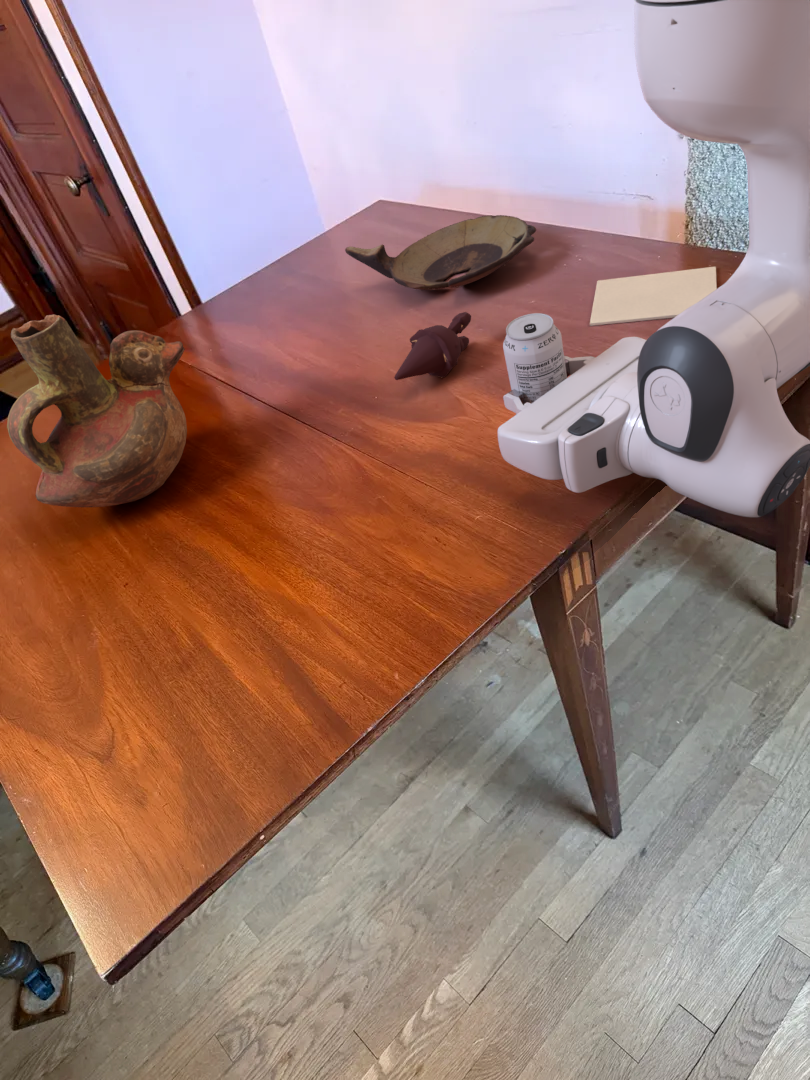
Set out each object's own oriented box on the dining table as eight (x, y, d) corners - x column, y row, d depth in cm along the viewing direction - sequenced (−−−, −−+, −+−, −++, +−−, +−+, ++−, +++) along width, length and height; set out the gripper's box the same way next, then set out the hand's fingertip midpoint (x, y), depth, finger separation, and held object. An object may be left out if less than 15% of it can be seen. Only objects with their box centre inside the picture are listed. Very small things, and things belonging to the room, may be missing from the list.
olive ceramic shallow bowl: (497, 314, 110) (487, 264, 105) (343, 303, 127) (328, 260, 122) (561, 242, 122) (556, 195, 117) (412, 241, 138) (402, 200, 133)
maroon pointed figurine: (416, 367, 93) (491, 316, 100) (373, 344, 96) (449, 296, 103) (416, 411, 98) (487, 359, 105) (376, 387, 101) (447, 338, 108)
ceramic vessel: (256, 445, 102) (171, 273, 85) (92, 563, 92) (-40, 394, 76) (196, 412, 113) (110, 254, 96) (44, 514, 103) (-80, 358, 87)
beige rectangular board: (715, 269, 103) (715, 266, 103) (717, 313, 96) (717, 310, 95) (597, 283, 109) (597, 280, 109) (589, 326, 101) (589, 323, 101)
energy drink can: (571, 421, 87) (555, 305, 78) (579, 452, 83) (563, 333, 73) (520, 432, 89) (498, 318, 79) (525, 463, 84) (502, 346, 74)
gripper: (704, 340, 73) (595, 309, 82) (557, 451, 67) (457, 404, 76) (703, 394, 77) (600, 359, 86) (565, 503, 71) (470, 452, 80)
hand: (532, 381), depth 81 cm, fingers closed on energy drink can, 6 cm apart
